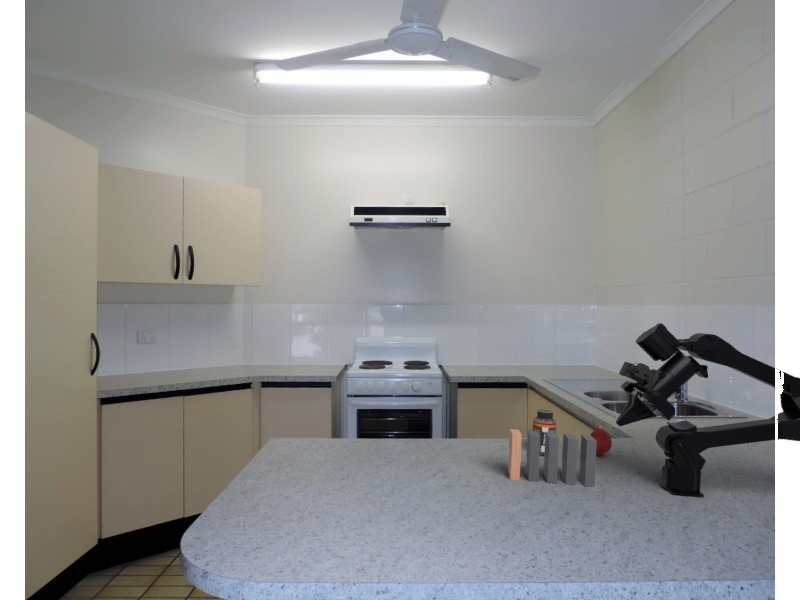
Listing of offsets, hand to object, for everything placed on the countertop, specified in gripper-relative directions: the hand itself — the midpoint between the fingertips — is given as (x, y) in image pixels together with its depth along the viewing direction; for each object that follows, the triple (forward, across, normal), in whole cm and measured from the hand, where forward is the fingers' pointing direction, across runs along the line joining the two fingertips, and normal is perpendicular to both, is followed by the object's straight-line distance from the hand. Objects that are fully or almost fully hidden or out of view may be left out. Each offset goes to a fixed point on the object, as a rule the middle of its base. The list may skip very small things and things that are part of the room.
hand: (617, 424), depth 110 cm
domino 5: (+14, 0, +5) cm, 15 cm away
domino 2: (+22, +1, -4) cm, 22 cm away
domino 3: (+19, 0, -1) cm, 19 cm away
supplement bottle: (+18, -21, 0) cm, 28 cm away
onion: (+8, -23, +11) cm, 27 cm away
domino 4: (+17, 0, +2) cm, 17 cm away
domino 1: (+25, +1, -7) cm, 26 cm away
